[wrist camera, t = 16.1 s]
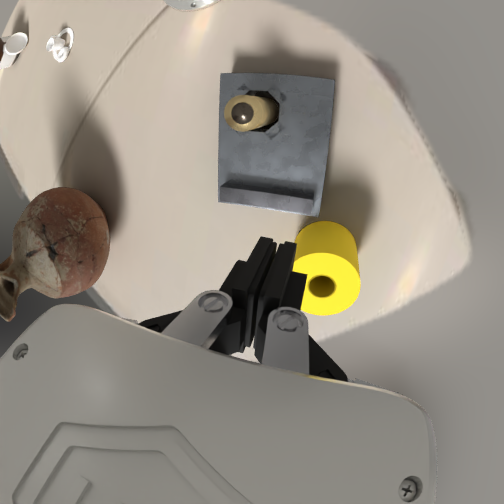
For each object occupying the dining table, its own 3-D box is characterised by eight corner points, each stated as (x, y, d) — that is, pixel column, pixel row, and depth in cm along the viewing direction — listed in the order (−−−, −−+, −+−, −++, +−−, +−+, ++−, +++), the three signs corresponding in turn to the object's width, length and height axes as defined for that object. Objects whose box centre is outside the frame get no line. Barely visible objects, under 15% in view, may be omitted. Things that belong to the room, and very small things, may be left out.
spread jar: (9, 51, 33) (-22, 57, 24) (24, 21, 28) (-8, 25, 18) (15, 73, 37) (-18, 81, 27) (31, 42, 32) (-5, 46, 22)
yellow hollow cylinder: (296, 216, 40) (286, 247, 32) (361, 225, 38) (368, 259, 30) (291, 271, 45) (281, 309, 38) (349, 280, 43) (350, 319, 35)
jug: (144, 258, 53) (47, 362, 29) (88, 264, 61) (10, 339, 36) (106, 159, 44) (-30, 232, 19) (55, 188, 52) (-41, 249, 27)
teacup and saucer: (72, 59, 34) (57, 60, 31) (52, 66, 36) (39, 68, 32) (77, 23, 30) (63, 22, 26) (57, 33, 31) (43, 33, 27)
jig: (231, 76, 32) (214, 72, 27) (334, 83, 29) (335, 78, 24) (228, 193, 41) (212, 207, 36) (319, 206, 38) (317, 223, 33)
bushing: (250, 96, 33) (224, 94, 25) (279, 98, 32) (262, 95, 24) (249, 123, 35) (223, 130, 27) (278, 126, 34) (260, 133, 26)
